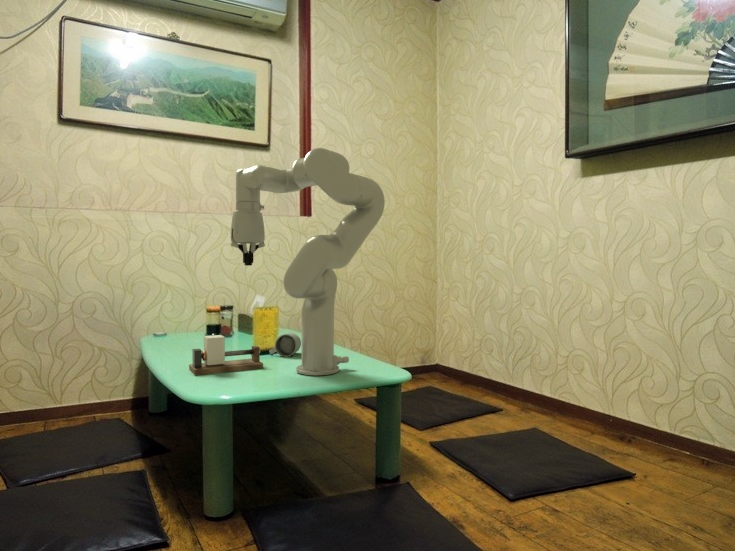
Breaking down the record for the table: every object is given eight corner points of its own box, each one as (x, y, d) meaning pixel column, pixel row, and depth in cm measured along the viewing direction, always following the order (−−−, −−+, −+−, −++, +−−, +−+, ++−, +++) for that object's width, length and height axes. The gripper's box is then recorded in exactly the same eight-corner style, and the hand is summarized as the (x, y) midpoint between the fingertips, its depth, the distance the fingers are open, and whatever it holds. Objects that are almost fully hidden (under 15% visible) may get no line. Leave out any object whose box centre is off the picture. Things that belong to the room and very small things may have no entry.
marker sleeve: (220, 360, 154) (220, 334, 154) (224, 363, 150) (224, 337, 150) (204, 362, 152) (203, 336, 152) (207, 365, 147) (207, 338, 147)
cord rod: (252, 360, 158) (252, 344, 158) (255, 362, 155) (255, 345, 155) (192, 365, 149) (192, 349, 149) (194, 367, 147) (194, 350, 146)
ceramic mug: (302, 352, 179) (301, 331, 179) (296, 357, 171) (296, 334, 171) (273, 352, 181) (272, 331, 180) (266, 356, 172) (265, 334, 172)
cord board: (254, 362, 161) (254, 344, 161) (263, 368, 154) (263, 348, 153) (189, 369, 152) (188, 349, 152) (194, 375, 144) (194, 354, 144)
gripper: (267, 210, 169) (267, 265, 170) (221, 208, 162) (221, 265, 163) (274, 208, 163) (274, 265, 163) (227, 205, 155) (227, 265, 156)
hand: (248, 265), depth 163 cm, fingers closed
